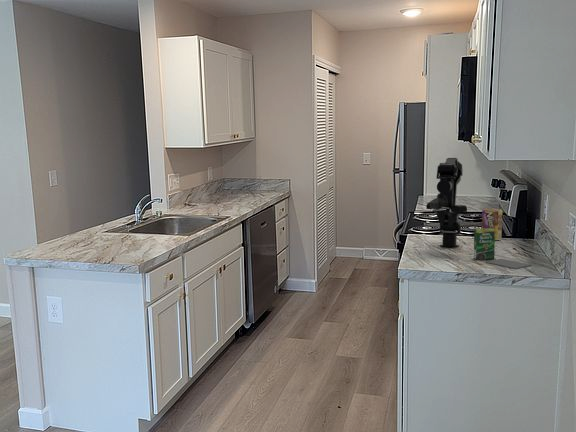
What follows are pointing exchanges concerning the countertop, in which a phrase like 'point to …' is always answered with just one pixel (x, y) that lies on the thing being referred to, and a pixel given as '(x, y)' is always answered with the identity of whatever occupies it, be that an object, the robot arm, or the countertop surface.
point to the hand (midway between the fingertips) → (445, 226)
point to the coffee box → (484, 243)
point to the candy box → (492, 221)
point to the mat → (508, 263)
